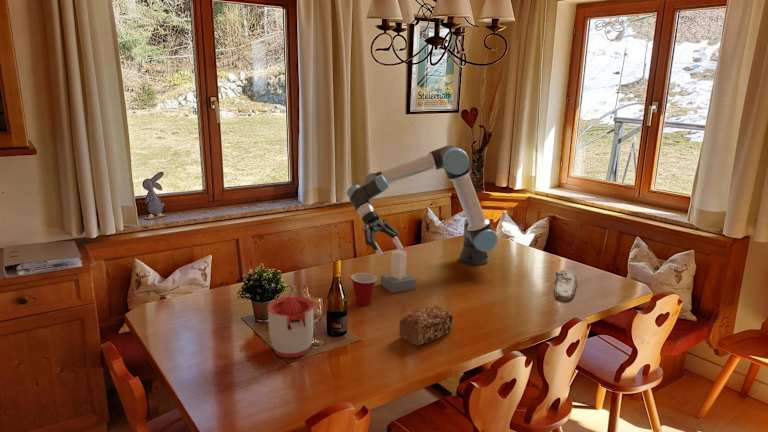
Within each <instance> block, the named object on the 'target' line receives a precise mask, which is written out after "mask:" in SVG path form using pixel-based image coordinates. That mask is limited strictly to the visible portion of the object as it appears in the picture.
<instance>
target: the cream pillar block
mask: <svg viewBox="0 0 768 432" xmlns="http://www.w3.org/2000/svg"><path fill="white" fill-rule="evenodd" d="M390 253H391V255H390V256H391V257H390V273H391V277H393V278H396V279H399V280H400V279H402V278H404V277H406V273H407V257H408V252H407V250H402V249H401V250H399V249H398V248H397V249H395V250H393V251H391V252H390Z"/></svg>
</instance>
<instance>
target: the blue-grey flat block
mask: <svg viewBox="0 0 768 432" xmlns="http://www.w3.org/2000/svg"><path fill="white" fill-rule="evenodd" d="M380 285H382V286H383V287H384V288H385V289H387V290H388V291H389V292H390V293H392V294H394V293H401V292H405V291H410V290H412V291H413V290H416V289H417V279H416V278H415V277H413V276H412V275H411V274H409V273H408V272H406V277H404V278H402V279H400V280H399V279H396V278H393V277H391V272H387V273H382V274H381V273H380Z"/></svg>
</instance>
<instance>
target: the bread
mask: <svg viewBox="0 0 768 432" xmlns="http://www.w3.org/2000/svg"><path fill="white" fill-rule="evenodd" d="M452 326H453V315H452V313H451V312H450V311H449V310H447V309H445V308H444V307H442V306H440V305H439V306H438V305H432V306H425V307H422V308H419V309H416V310H414V311H410V313H407V314H406V315H404V316H403V317H401V319H400V320H399V326H398V329H399V335H400V337H401V339H402V340H404V341H406V342H407V343H410V344H412V345H414V346H421V345H422V344H426V343H429V342H431V341H434V340H436V339H438V338H441V337H442V336H444V335H446V334H449V333H450V332H451V331H452Z"/></svg>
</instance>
